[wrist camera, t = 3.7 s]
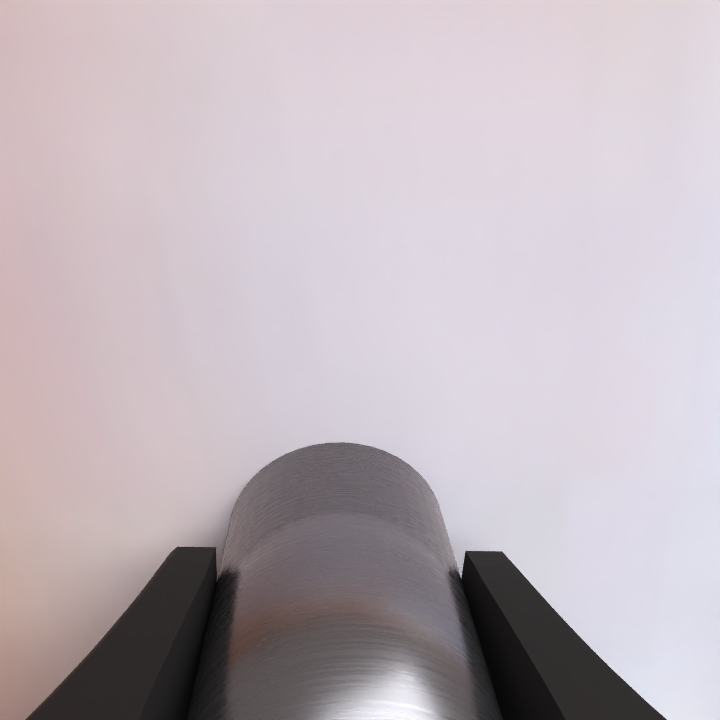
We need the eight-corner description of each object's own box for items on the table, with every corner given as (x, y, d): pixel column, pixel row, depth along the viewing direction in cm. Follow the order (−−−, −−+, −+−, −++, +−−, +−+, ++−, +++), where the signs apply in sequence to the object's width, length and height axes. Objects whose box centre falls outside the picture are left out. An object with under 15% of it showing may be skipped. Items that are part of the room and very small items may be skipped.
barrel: (454, 445, 11) (582, 769, 6) (432, 620, 13) (517, 1014, 7) (227, 439, 11) (132, 774, 5) (230, 619, 12) (157, 1030, 7)
